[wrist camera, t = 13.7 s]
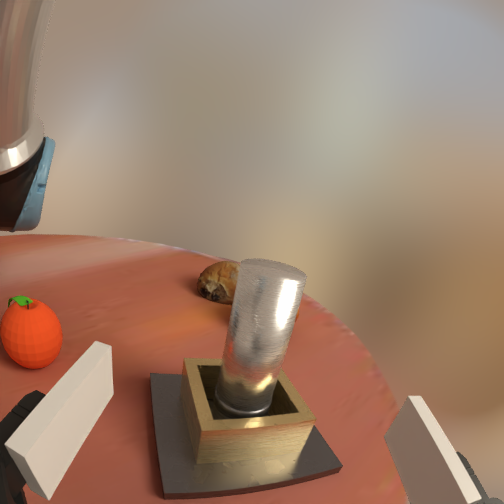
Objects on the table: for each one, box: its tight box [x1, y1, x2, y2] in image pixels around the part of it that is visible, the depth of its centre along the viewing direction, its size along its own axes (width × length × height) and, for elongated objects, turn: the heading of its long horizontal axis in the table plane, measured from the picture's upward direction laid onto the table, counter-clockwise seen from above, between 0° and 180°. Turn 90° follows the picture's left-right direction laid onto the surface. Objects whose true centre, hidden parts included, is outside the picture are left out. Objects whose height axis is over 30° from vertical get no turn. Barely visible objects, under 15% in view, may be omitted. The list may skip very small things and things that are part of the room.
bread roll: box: [197, 261, 240, 305], centre depth 55 cm, size 10×10×8 cm
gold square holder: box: [150, 358, 343, 499], centre depth 23 cm, size 14×14×5 cm
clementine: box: [0, 296, 63, 369], centre depth 23 cm, size 8×7×7 cm
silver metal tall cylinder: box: [212, 259, 307, 420], centre depth 22 cm, size 5×5×14 cm
